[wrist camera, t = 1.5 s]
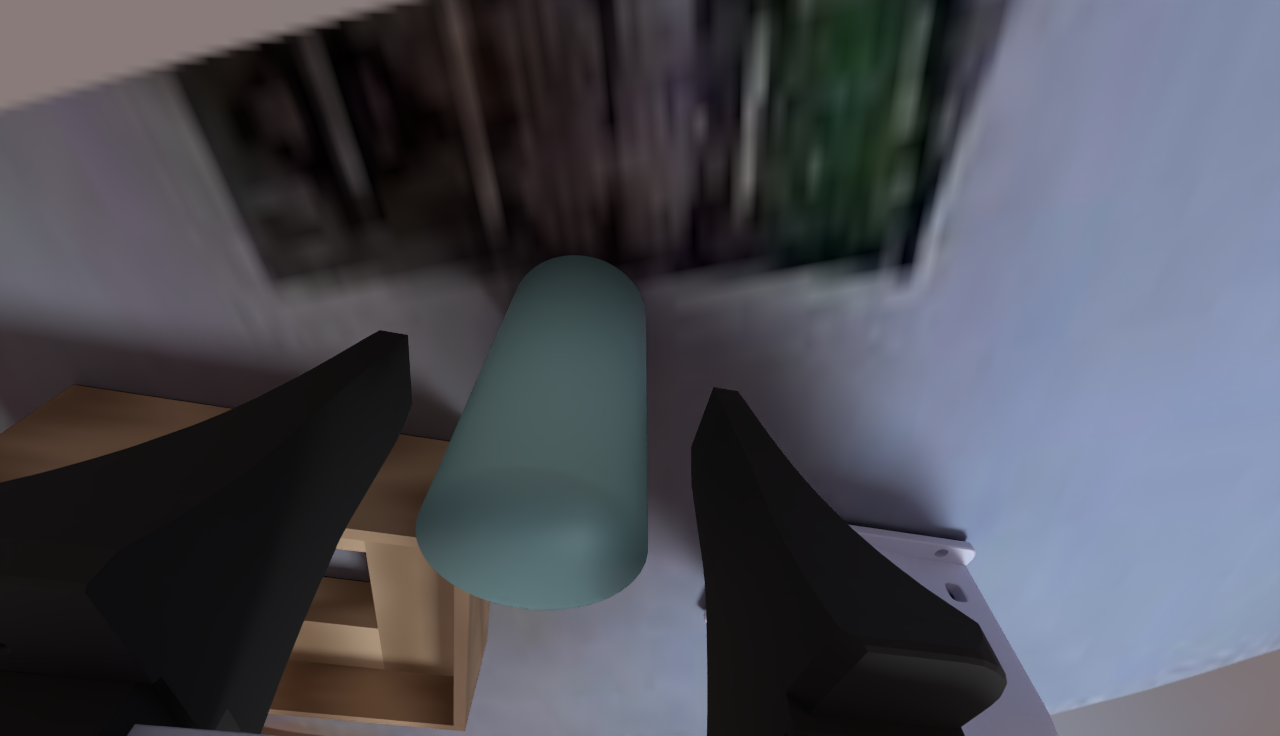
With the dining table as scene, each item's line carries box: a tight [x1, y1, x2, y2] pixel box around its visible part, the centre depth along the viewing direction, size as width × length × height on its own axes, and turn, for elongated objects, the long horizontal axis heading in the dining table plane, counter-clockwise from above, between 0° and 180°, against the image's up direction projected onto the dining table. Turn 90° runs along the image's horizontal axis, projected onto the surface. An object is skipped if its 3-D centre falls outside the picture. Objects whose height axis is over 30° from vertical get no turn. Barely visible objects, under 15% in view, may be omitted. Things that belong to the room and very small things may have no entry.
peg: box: [416, 255, 648, 610], centre depth 12 cm, size 4×4×8 cm
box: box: [0, 385, 490, 731], centre depth 20 cm, size 14×14×4 cm
